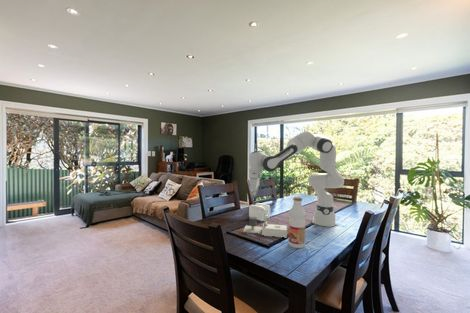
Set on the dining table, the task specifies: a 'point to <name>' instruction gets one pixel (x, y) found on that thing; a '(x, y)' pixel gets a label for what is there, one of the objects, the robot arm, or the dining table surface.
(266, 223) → the clip
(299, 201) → the fruit juice
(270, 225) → the power strip
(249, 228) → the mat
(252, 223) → the plug
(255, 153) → the robot arm
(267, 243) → the dining table surface
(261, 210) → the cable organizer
